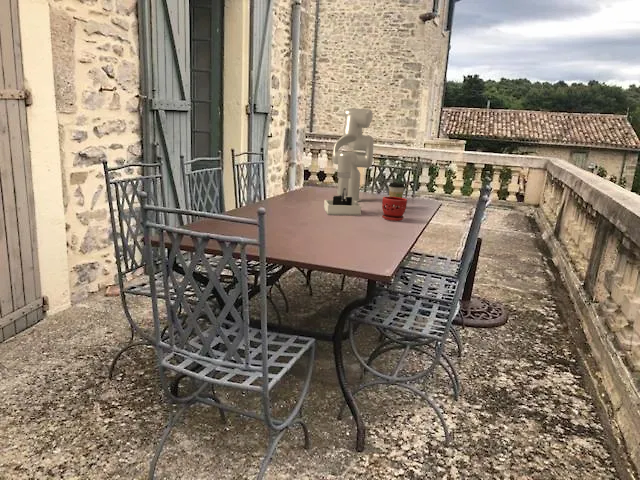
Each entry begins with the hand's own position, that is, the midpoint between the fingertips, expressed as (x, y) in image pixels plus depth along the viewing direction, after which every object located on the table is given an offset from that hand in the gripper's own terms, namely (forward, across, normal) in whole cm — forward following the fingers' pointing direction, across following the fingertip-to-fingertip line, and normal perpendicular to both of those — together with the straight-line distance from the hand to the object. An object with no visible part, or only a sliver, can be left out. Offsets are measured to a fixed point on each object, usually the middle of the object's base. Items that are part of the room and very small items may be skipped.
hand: (342, 206), depth 277 cm
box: (+3, 0, 0) cm, 3 cm away
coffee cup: (+4, -21, +37) cm, 43 cm away
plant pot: (+4, +16, +26) cm, 31 cm away
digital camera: (+2, 0, 0) cm, 2 cm away
